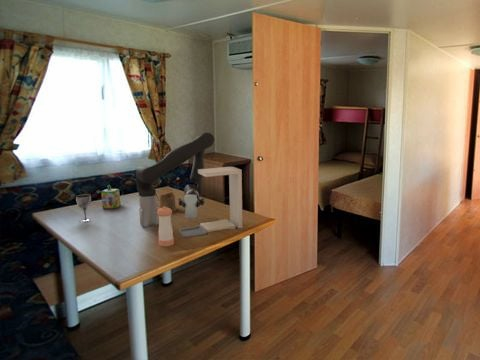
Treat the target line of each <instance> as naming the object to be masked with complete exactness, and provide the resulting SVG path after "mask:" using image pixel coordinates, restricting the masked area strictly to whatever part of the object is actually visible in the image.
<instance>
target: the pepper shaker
mask: <svg viewBox="0 0 480 360" xmlns="http://www.w3.org/2000/svg"><path fill="white" fill-rule="evenodd" d="M159 208H160V207H159ZM159 208H157V217H158V232H157V233H158V240H157V241H158V246H159V247H170V246H172V245H174V244H175V238H174V234H173V233H174V231H173V225H172V219H171V217H172V213H173V211H172V210H171V209H170V208H167V207H165V206H164V207H163V208H160V209H159Z"/></svg>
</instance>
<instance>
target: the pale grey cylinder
mask: <svg viewBox="0 0 480 360" xmlns="http://www.w3.org/2000/svg"><path fill="white" fill-rule="evenodd" d="M184 199H185V207H184V215H185V216H184V218H186V219H196V218H197V217H198V207H197V195H194V194H189V195H185V194H184Z"/></svg>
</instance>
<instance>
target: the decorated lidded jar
mask: <svg viewBox="0 0 480 360" xmlns="http://www.w3.org/2000/svg"><path fill="white" fill-rule="evenodd" d="M100 194H101V204H102V205H101V206H102V209H103V208H104V209H117V208H119V206H122V205H121V195H120V188H112V186H111V185H110V184H108V185H107V186H106V189H105V188H104V190H101V191H100Z"/></svg>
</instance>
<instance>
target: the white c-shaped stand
mask: <svg viewBox="0 0 480 360" xmlns="http://www.w3.org/2000/svg"><path fill="white" fill-rule="evenodd" d="M242 171H243V170H242V169H240V168H238V167H235V166H223V167H222V166H221V167H211V168H204V169H198V173H199V174H201V175H203V176H202V177H205V178H209V177H219V176H228V179H229V180H228V186H229V187H228V188H229V219H219V220H214V221H213V220H212V221H207V222H201V223H199V226H200V227H202V228H203V229H204V230H205V231H206V232H207V233H210V232H216V231H222V230H227V229H231V230H236V228H238V229H243V186H242V185H243V182H242V180H243V177H242V176H243V173H242Z"/></svg>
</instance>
